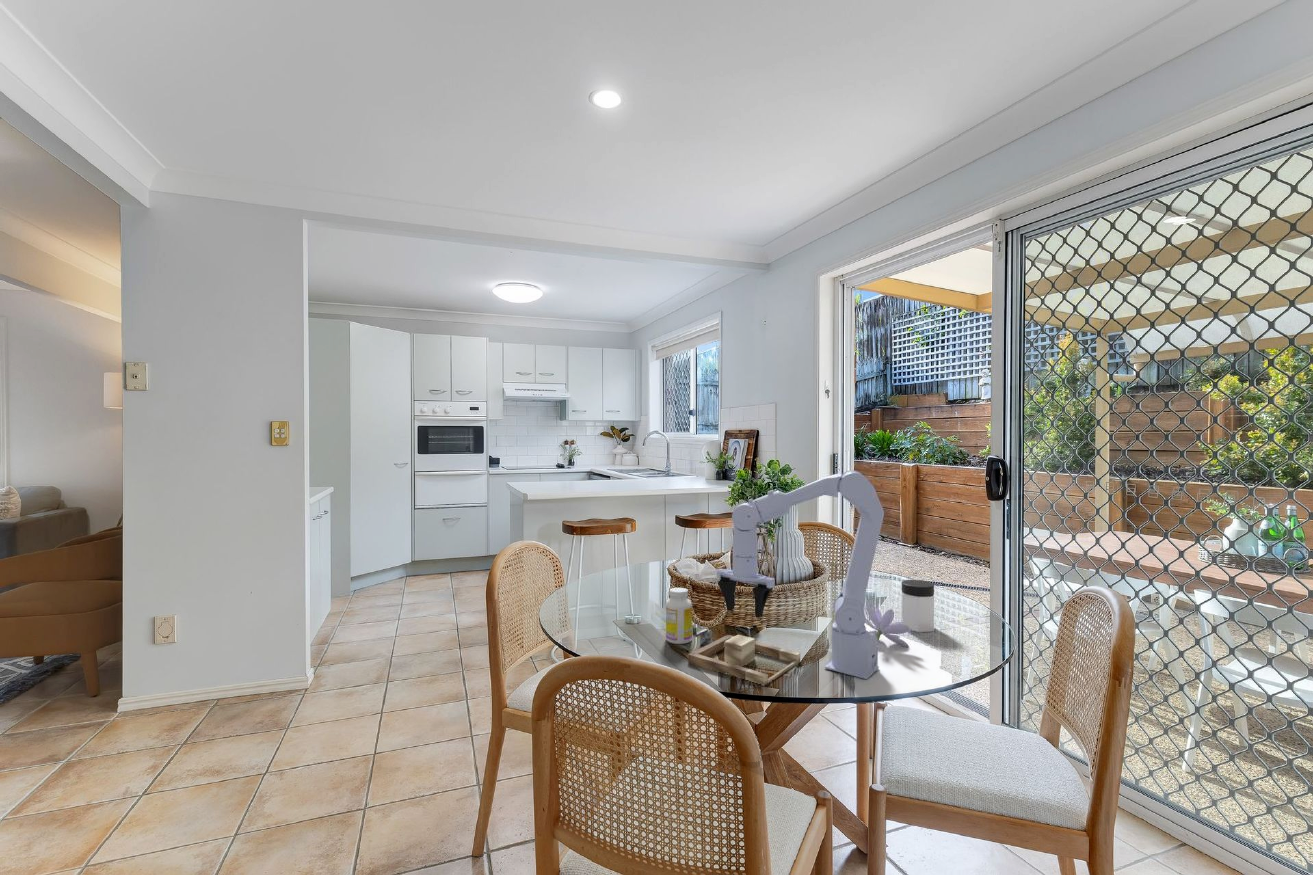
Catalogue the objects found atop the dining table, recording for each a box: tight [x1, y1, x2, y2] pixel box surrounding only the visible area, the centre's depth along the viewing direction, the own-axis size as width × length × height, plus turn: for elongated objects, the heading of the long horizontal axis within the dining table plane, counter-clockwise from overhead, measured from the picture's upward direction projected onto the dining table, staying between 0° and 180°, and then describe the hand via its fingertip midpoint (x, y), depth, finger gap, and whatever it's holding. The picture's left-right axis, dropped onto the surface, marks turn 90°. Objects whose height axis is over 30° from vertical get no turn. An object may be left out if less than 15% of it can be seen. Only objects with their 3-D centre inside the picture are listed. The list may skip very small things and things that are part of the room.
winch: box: [692, 626, 713, 647], centre depth 148 cm, size 7×3×5 cm, turn 141°
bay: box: [687, 634, 801, 685], centre depth 138 cm, size 20×17×2 cm
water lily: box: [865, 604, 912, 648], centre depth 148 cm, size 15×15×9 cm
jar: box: [900, 579, 935, 633], centre depth 163 cm, size 9×8×12 cm
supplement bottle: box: [665, 587, 693, 645], centre depth 152 cm, size 7×7×13 cm
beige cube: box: [723, 634, 757, 667], centre depth 139 cm, size 5×6×5 cm
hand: (744, 613), depth 140 cm, fingers open, 7 cm apart
